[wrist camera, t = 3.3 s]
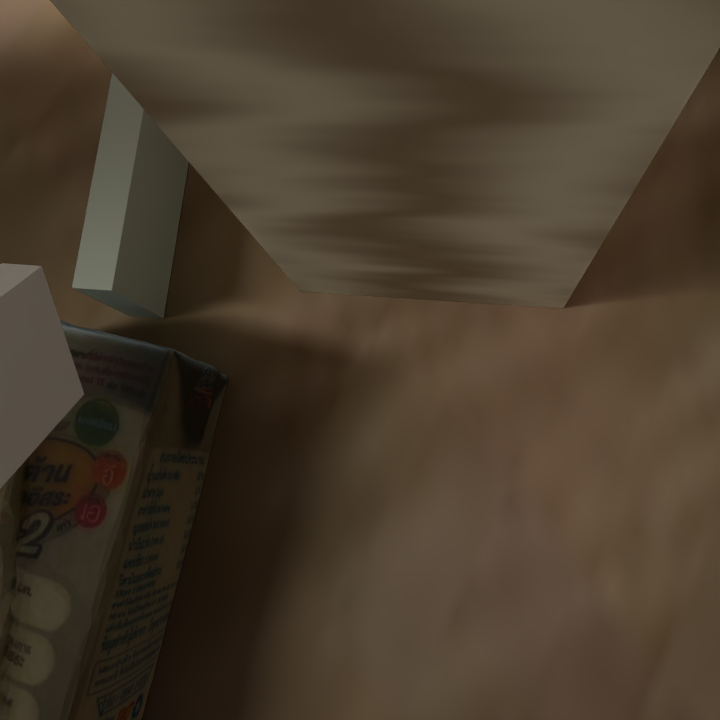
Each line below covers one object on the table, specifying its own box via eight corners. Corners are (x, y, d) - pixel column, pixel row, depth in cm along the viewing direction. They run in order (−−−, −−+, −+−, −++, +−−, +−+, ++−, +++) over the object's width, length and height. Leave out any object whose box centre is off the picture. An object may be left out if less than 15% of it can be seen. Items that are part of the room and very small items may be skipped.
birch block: (300, 291, 26) (49, -1, 10) (309, 219, 26) (84, -166, 10) (563, 308, 24) (754, -10, 8) (567, 230, 24) (756, -207, 9)
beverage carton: (246, 373, 26) (174, 338, 19) (108, 898, 23) (-29, 1063, 16) (68, 333, 27) (-55, 289, 21) (-81, 823, 24) (-274, 948, 18)
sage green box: (129, 316, 26) (-64, 221, 17) (196, -80, 29) (66, -356, 20) (771, 363, 22) (1008, 276, 13) (773, -101, 25) (967, -459, 16)
